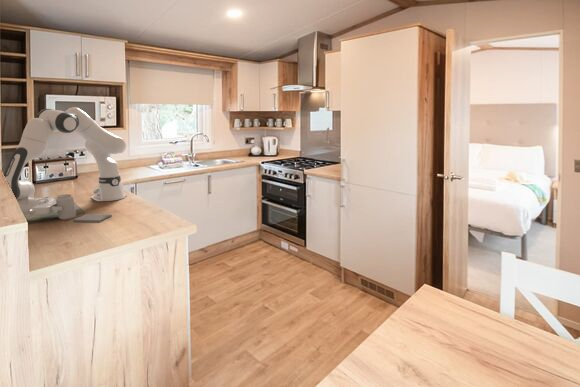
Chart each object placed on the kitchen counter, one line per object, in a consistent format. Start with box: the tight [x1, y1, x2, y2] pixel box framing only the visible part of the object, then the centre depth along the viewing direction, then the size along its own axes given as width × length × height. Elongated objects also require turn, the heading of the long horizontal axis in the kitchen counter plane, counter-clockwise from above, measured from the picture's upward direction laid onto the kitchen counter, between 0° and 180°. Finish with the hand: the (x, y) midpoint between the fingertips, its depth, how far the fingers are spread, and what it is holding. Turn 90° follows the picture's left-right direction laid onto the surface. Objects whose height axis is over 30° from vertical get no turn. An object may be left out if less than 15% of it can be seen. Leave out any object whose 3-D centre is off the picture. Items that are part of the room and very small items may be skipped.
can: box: [56, 193, 77, 221], centre depth 181 cm, size 8×8×12 cm
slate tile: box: [72, 213, 113, 223], centre depth 179 cm, size 14×10×1 cm
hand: (67, 205), depth 181 cm, fingers closed on can, 7 cm apart
